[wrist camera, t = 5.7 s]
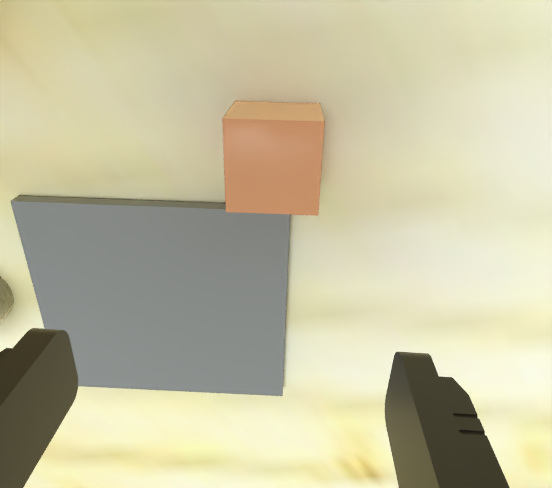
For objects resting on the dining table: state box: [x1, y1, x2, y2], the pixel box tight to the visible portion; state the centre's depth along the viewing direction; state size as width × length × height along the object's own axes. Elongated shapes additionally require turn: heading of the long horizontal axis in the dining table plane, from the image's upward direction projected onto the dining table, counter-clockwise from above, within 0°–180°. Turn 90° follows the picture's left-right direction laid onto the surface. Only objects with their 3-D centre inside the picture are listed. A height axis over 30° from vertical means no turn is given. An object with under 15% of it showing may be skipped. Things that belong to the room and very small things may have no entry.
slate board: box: [11, 195, 290, 396], centre depth 33 cm, size 18×16×1 cm
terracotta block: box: [223, 101, 325, 215], centre depth 25 cm, size 5×5×5 cm
